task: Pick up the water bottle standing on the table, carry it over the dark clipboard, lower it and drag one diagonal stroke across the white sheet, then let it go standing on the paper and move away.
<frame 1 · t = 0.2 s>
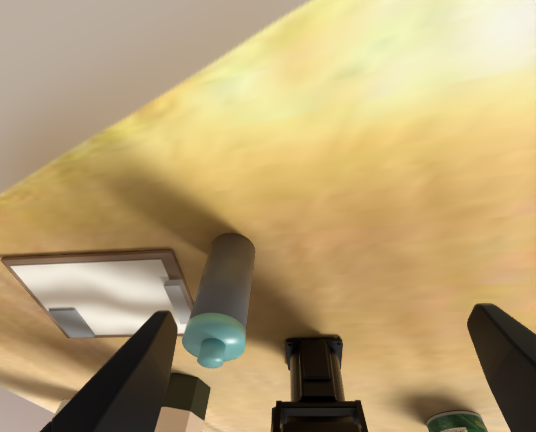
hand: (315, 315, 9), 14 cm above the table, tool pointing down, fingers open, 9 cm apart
wine bottle: (182, 386, 43), on the table
clipboard: (113, 298, 32), on the table
water bottle: (233, 250, 27), on the table
canned tomato: (452, 419, 46), on the table
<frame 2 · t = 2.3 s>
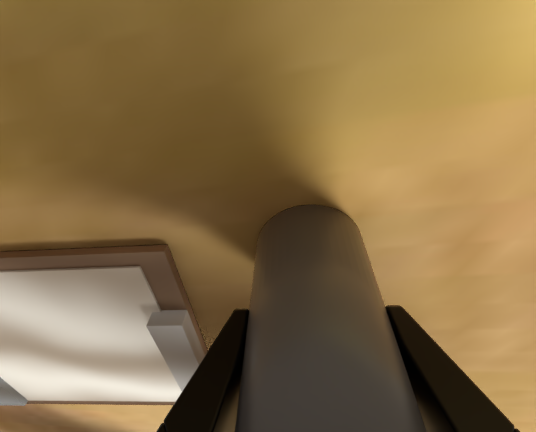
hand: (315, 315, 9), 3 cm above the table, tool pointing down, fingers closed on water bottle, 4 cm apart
clipboard: (51, 342, 16), on the table
water bottle: (308, 248, 11), on the table, touching gripper
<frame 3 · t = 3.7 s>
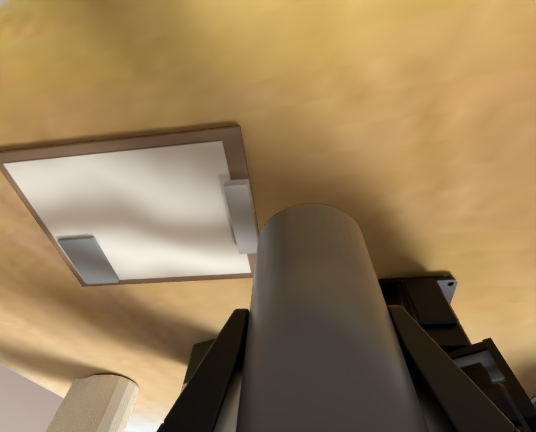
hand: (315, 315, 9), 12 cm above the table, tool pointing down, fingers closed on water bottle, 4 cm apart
wine bottle: (225, 357, 34), on the table
clipboard: (146, 220, 23), on the table
paper towel roll: (113, 380, 39), on the table
water bottle: (309, 247, 11), point 9 cm above the table, touching gripper
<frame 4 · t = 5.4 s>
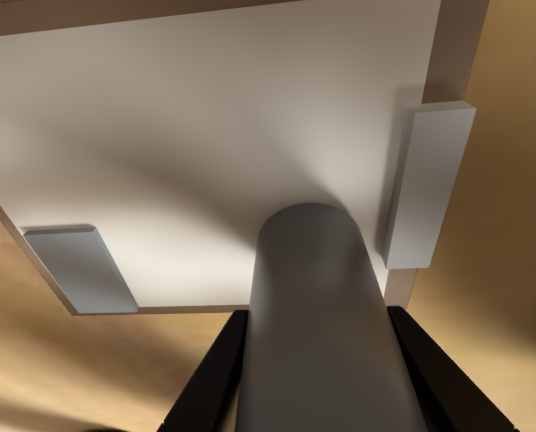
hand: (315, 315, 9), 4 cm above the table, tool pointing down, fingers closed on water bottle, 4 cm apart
clipboard: (203, 197, 11), on the table
water bottle: (308, 246, 11), point 1 cm above the table, touching gripper
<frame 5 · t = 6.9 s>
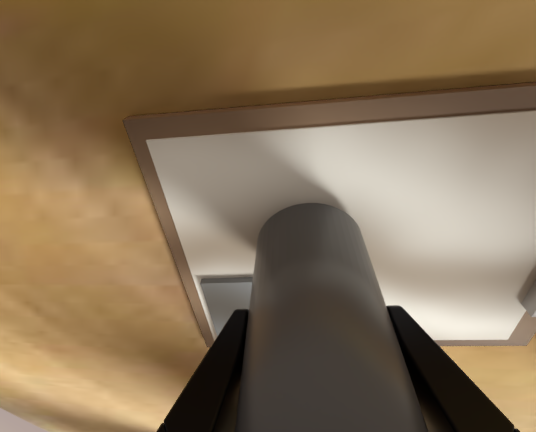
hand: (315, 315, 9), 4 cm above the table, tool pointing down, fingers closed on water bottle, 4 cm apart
clipboard: (368, 252, 13), on the table
water bottle: (309, 246, 11), point 1 cm above the table, touching gripper
when the fingers open (4 cm above the table, at t = 8.4 s): water bottle stays where it is, resting on clipboard.
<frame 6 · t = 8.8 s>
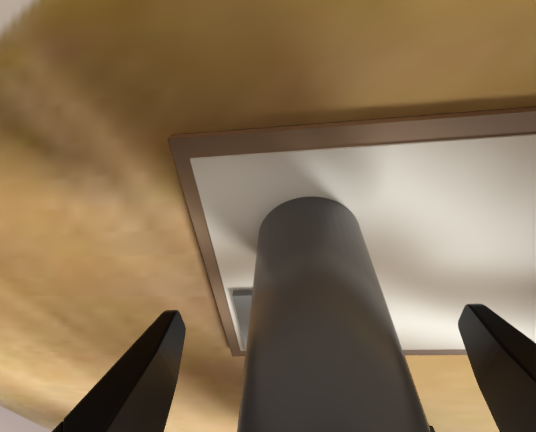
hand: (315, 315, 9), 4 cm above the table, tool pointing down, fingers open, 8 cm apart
clipboard: (400, 265, 13), on the table
water bottle: (308, 239, 12), point 1 cm above the table, touching clipboard
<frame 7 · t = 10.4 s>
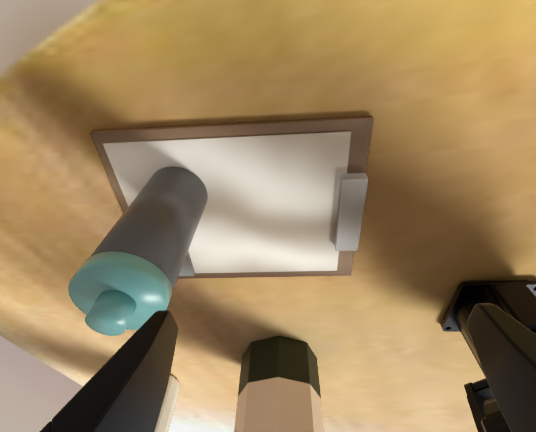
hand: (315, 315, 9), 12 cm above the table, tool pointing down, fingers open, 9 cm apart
wine bottle: (279, 355, 33), on the table
clipboard: (240, 211, 22), on the table
paper towel roll: (153, 377, 37), on the table
water bottle: (178, 192, 20), point 1 cm above the table, touching clipboard
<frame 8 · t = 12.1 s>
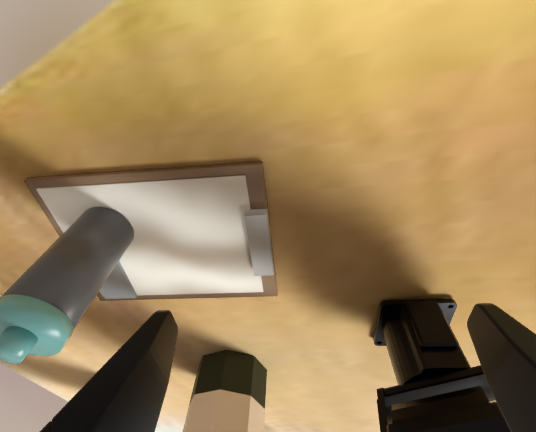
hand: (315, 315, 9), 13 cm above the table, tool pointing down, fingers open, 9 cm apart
wine bottle: (232, 367, 35), on the table
clipboard: (167, 242, 24), on the table
water bottle: (108, 228, 23), point 1 cm above the table, touching clipboard
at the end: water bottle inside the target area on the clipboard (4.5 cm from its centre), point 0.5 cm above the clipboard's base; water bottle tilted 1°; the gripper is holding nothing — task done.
